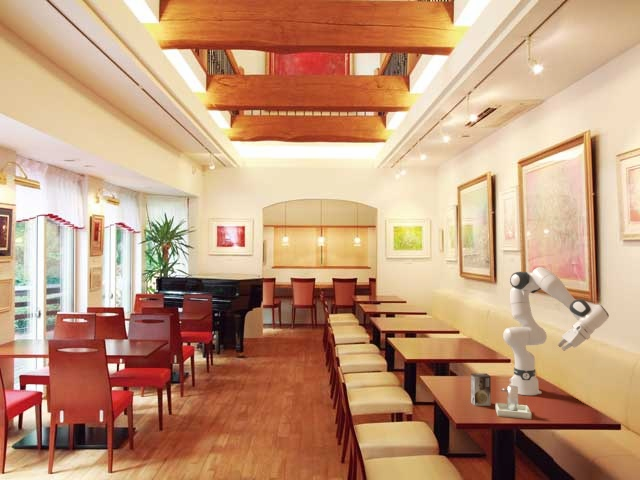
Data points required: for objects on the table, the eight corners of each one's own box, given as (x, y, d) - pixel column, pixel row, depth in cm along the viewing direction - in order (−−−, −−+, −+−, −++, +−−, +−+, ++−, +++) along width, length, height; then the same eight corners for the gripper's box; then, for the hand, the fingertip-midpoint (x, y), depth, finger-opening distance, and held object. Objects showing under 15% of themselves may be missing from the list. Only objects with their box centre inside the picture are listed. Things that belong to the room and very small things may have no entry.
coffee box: (486, 402, 281) (486, 373, 281) (491, 405, 274) (491, 376, 275) (470, 402, 280) (470, 373, 281) (474, 405, 274) (474, 376, 274)
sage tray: (495, 408, 270) (495, 402, 270) (527, 411, 266) (527, 405, 266) (497, 416, 257) (497, 410, 257) (531, 419, 253) (531, 413, 254)
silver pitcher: (500, 409, 266) (500, 384, 266) (517, 410, 264) (517, 385, 264) (501, 412, 261) (501, 387, 261) (518, 413, 259) (518, 388, 259)
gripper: (571, 323, 275) (552, 339, 277) (581, 328, 255) (560, 347, 257) (580, 331, 274) (561, 348, 276) (591, 338, 254) (569, 356, 256)
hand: (560, 347), depth 266 cm, fingers open, 8 cm apart
